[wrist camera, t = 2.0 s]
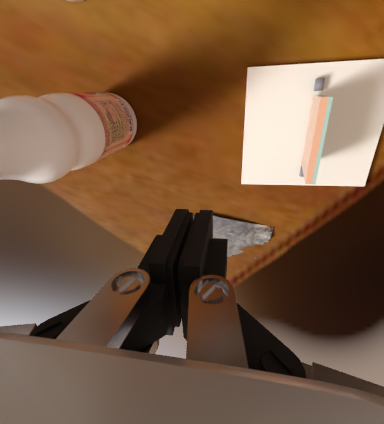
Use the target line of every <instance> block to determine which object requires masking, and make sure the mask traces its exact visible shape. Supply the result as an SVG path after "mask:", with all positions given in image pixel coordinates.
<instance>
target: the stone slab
mask: <svg viewBox="0 0 384 424" xmlns="http://www.w3.org/2000/svg"><path fill="white" fill-rule="evenodd" d="M194 217H195V216H193V219H194ZM273 229H274V228H273V227H267V226H265V225H259V224H251V223H248V222H240V221H235V220H231V219H225V218H221V217H217V216H213V238H220V239H228V247H227V257H230V256H231V255H237V254H239V253H243V252H244V251H241V250H239V249H240V248H241V249H242V248H247V247H250V246H254V245H256V244H259V245H263V244H264V243H263V242H269V239H271V236H272V232H273ZM257 258H258V257H256V258H255V259H257Z"/></svg>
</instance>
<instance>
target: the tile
mask: <svg viewBox="0 0 384 424" xmlns="http://www.w3.org/2000/svg"><path fill="white" fill-rule="evenodd" d="M332 100H333V97H332V96H326V95H313V99H312V104H311V110H310V116H309V122H308V128H307V134H306V140H305V146H304V152H303V158H302V169H303V175H304V180H305V184H316V179H317V174H318V169H319V164H320V159H321V154H322V150H323V145H324V140H325V135H326V130H327V125H328V120H329V115H330V110H331V105H332Z"/></svg>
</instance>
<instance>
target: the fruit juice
mask: <svg viewBox="0 0 384 424" xmlns="http://www.w3.org/2000/svg"><path fill="white" fill-rule="evenodd" d="M136 131H137V120H136V116H135V113H134V111H133V109H132V107H131V106H130V104H129V103H128V102H127V101H126V100H125V99H123V98H122V97H120V96H118V95H116V94H113V93H108V92H96V93H53V94H47V95H43V96H40V97H38V98H37V97H33V96H27V95H15V96H8V97H5V98H2V99H0V179H17V180H22V181H25V182H30V183H47V182H51V181H54V180H57V179H59V178H61V177H63V176H64V175H66V174H67V173H68V172H69V171H70V170H77V169H80V168H83V167H86V166H88V165H91V164H92V163H94V162H96V161H98V160H100V159H102V158H104V157H106V156H108V155H110V154H112V153H114V152H116V151H118V150H120V149H122V148H124V147H126V146H127V145H129V144H130V143H131V142H132V140H133V139H134V137H135V134H136Z"/></svg>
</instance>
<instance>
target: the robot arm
mask: <svg viewBox="0 0 384 424" xmlns="http://www.w3.org/2000/svg"><path fill="white" fill-rule="evenodd" d="M65 1H70V2H81V1H84V0H65ZM227 247H228V239H220V238H213V210H200V213H196V214H195V217H194V219H193V213H189V210H188V209H176V210H175V212H174V214H173V216H172V218H171V220H170V222H169V224H168V226H167V227H166V229H165V231H164V233H163V235H156V237H155V238H154V240H153V242H152V244H151V245H150V247H149V249H148V251H147V252H146V254H145V256H144V258H143V259H142V261H141V263H140V265H139V266H138V268H130V269H125V270H123V271H120V272H118V273H116V274H115V275H114V276H113V277H111V278H110V279H109V280H108V282H107V283H106V284H105V285H104V286H103V287H102V288H101V290H99V292H98V293H97V294H96V295H95V296H94V297H93V298H92V300H89V301H87V302H85V303H83V304H81V305H79V306H76V307H74V308H72V309H70V310H68V311H66V312H63V313H61V314H59V315H57V316H55V317H53V318H50V319H48V320H46V321H45V322H43V323H41V324H40V325H39V326H37V325H36V323H35V324H24V325H12V326H2V327H0V424H384V387H383V386H380V385H377V384H374V383H372V382H369V381H366V380H363V379H360V378H357V377H354V376H351V375H349V374H346V373H343V372H340V371H337V370H334V369H332V368H329V367H326V366H323V365H320V364H317V363H314V362H313V363H312V366H311V365H308V364H305V363H303V362H301V361H300V360H299V358H298V357H297V356H296V355H295V354H294V353H293V352H292V351H291V350H290V349H289V348H288V347H286V346H285V345H284V344H283V343H282V342H281V341H279V340H278V339H277V338H276V337H275V336H274V335H273V334H272V333H270V332H269V331H268V330H267V329H266V328H265V327H264V326H263V325H261V324H260V323H259V322H258V321H257V320H255V318H253V317H252V316H251V315H250V314H249V313H248V312H247V311H246V310H244V309H243V308H242V307H241V306H240V305H239V304H238V303H237V302H236V297H235V291H234V288H233V285H232V284H231V283H230V282H229V281H228V280H227V279H226V271H227ZM181 319H182V324H183V333H184V338H185V339H186V341H187V351H186V359H183V358H176V357H170V356H163V355H157V354H155V353H156V351H157V349H158V346H159V339H160V338H162V337H163V336H165V335H173V332H174V328H175V327H179V326H180V323H181Z"/></svg>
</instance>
